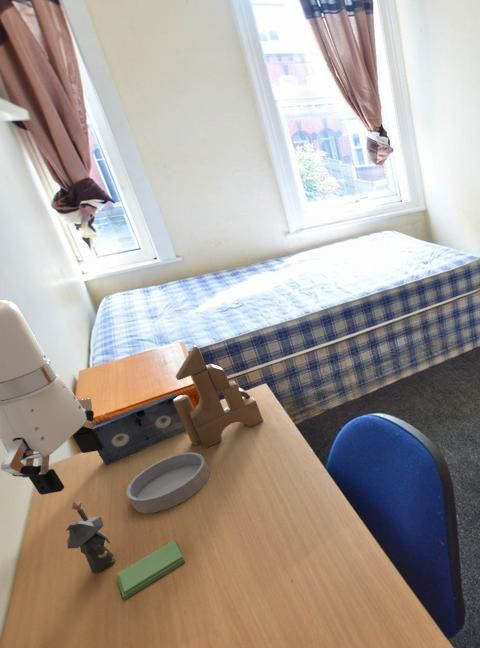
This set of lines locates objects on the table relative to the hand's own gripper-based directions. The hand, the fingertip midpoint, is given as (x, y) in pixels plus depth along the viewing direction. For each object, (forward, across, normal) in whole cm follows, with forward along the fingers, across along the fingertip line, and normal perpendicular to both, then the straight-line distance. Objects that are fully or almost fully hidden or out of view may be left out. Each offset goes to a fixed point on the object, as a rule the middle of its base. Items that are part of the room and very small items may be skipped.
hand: (74, 469), depth 77 cm
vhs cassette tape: (+22, -38, -16) cm, 47 cm away
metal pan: (+21, -19, -1) cm, 29 cm away
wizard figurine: (+22, -1, -5) cm, 22 cm away
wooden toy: (+22, -38, +3) cm, 43 cm away
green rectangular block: (+21, +4, +6) cm, 22 cm away
